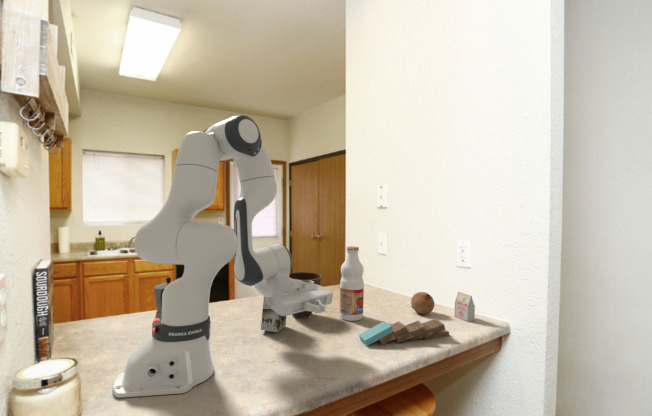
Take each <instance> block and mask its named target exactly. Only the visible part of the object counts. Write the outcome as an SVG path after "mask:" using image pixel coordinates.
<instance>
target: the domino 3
mask: <svg viewBox="0 0 652 416" xmlns="http://www.w3.org/2000/svg"><path fill="white" fill-rule="evenodd" d="M421 324H423V325H424V326H425V329H426V332H425V333H422V334H420V335H417V336H415V337H414V338H417V339H418V340H420V339H424V338H423V337H426V336H429V335H432V334H434V333H437V332H440V331H443V330H446V327H445V324H444V323H443V322H442V321H441V320H439V319H438V318H433V319H431V320H428V321H425V322H423V323H421Z"/></svg>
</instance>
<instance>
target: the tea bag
mask: <svg viewBox="0 0 652 416" xmlns="http://www.w3.org/2000/svg"><path fill="white" fill-rule="evenodd" d="M475 308H476V305H475V303H474V300H473V295H470V294H468V293H463V292H461V291H458V292H457V295H456V298H455V301H454V317H455V318H456V319H460V320H462V321H465V322H467V323H469V322H475V319H476V318H475V317H476V316H475V315H476V313H475V311H476V309H475Z"/></svg>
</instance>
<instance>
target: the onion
mask: <svg viewBox="0 0 652 416" xmlns="http://www.w3.org/2000/svg"><path fill="white" fill-rule="evenodd" d="M410 300H411V301H410V304H411V306H410V307H411V309H412V310H414V311H415V312H416V313H417V314H418V315H429V314H431V313H432V312H433V311H434V308H435V301H434V298H433V296H431V294H429V293H428V292H425V291H419V292H416V293H414V294H413V295H412V297H411V299H410Z"/></svg>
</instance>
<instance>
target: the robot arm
mask: <svg viewBox="0 0 652 416" xmlns="http://www.w3.org/2000/svg"><path fill="white" fill-rule="evenodd" d="M180 142H181V143H180V145H179V148H178V150H177V151H178V152H177V154H176V158H175V164H174V169H173V175H172V181H171V185H170V188H169V189H170V190H169V194H168V197H167V199H166V201H165V203H164V205H163V206H162V207H161V209H160V211H159V212H158V213H157V214H156V215H155V216H154V217H153V218H152V219H151V220H150V221H148V222H146V223H144V224H143V225H142V226H141V227H140V228H139V229H138V231H137V232H136V233H135V237H134V240H133V241H134V242H133V246H134V250H135V253H136V255H137V256H138V258H140V260H142V261H146V262H149V263H154V264H159V265H181V266H184V268H183V274H182V276H181V277H179V278H177V279H175V280H173V281H170V282H171V283H170V284H169V285H167V287H166V288H165V289H164V291H163V294H162V320H160V319H159V318H156V319H155V318H154V319H153V321H152V323H151V325H152V329H151V336H152V337H150V338H149V339H147V340H146V341H144V343H142V344H141V345H140V346H138V347H137V348H135V350H134V351H132V353H131V354H130V356H129V357H128V359H127V362H126V365H125V368H124V369H123V370H122V371H121V372H120V373H119V374H118V375H117V376H116V378H115V379H114V381H113V382H114V383H113V386H112V394H113V396H114V397H116V398H132V397H133V398H134V397H135V398H137V397H147V396H148V397H149V396H162V395H175V394H176V395H177V394H184V393H185V394H186V393H187V392H189V391H190V390H191V389H192V388H193V387H195V386H197V385H199V384H201V383H204V382H205V381H206V380H208V379H209V378H210V377H211V376H212V375H213V373H214V372H215V367H214V364H213V361H212V356H211V349H210V337H211V329H212V328H211V324H212V321H211V317H210V316H211V315H209V314H210V313H209V309H210V296H211V295H210V294H211V287H212V285H213V281H214V279H215V277H216V276H217V275H218V273H219V272H220V271H221V269H222V268H223V267H224V266H225V265H227V264H228V263H230V262H231V261H232V260H233V273H234V274H233V275H234V277H235V278H236V280H238V282H239V283H241V284H243V285H246V286H249V287H252V286H253V287H254V289H255V290H256V291H257V292H258V293H259V294H260V295H262V296H263V297H264V296H265V297H266V298H267V299H266V300H265V301H266V303H267V304H269V305H271V308H272V309H273V310H274V311H275V312H276V313H277V314H279V315H281V316H286V317H287V316H290V315H291V316H292V314H295V313H299V312H302V311H311V312H312V313H315V314H316V315H317V314H320V313H323V312H325V311H326V307H327V305H330V304H332V302H333V295H334V293H333V291H331V290H330V289H328V288H327V287H325V286H322V285H321V284H320V285H317V284H314V282H313V281H311V280H298V279H292V278H290V277H289V276H290V273H292V267H293V258H292V257H293V256H292V254H291V251H290V250H289V249H288V248H287V247H286V246H285V245H284V244H282V243H279V242H277V243H274V244H270V245H267V246H264V247H260V248H256V249H254V248H253V221H254V219H255V217H256V216H257V215H258V214H259V213H260V212H261V211H263V210H264V209H265V208H267V207H269V206H270V205H271V203H272V202H273V201H274V200H275V198H276V196H277V192H278V186H277V180H276V175H275V171H274V168H273V164H272V160H271V157H270V154H269V152H268V151H267V149H266V148H265V146H262V143H263V141H262V136H261V132H260V129H259V126H258V125H257V123H256V122H255V121H254V119H252V118H251V117H250V116H248V115H244V114H240V115H233V116H231V117H229V118H227V119H225V120H221V121H218V122H216V123H215V124H213V125H211V126H210V127H208V128H206V129H205V130H203V131H202V130H200V131H199V130H197V131H195V130H194V131H190V132H188V133H186V134H185V135H184V136H183V138H182V140H181V141H180ZM229 160H232V161H233V163H234V164H235V166H236V167H237V168H236V169H237V170H238V178H239V185H240V191H239V192H240V193H239V197H238V198H237V200H236V201H235V202H234V207H233V228H232V226H230V225H226V224H221V223H219V222H218V223H217V222H208V221H194V220H195V219H194V218H195V217H196V216H197V215H198V214H199V213H200V212H202V211H203V210H206V209H207V208H209V207H210V206H212V204H213V203H214V202H215V200H216V194H217V186H218V180H219V179H218V177H219V168H220V167H219V166H220V163H222V162H225V161H229ZM233 258H234V259H233Z"/></svg>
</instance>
